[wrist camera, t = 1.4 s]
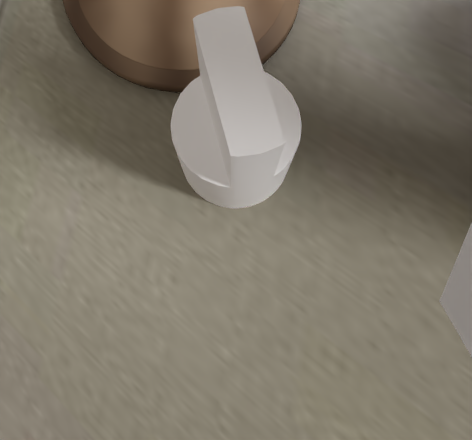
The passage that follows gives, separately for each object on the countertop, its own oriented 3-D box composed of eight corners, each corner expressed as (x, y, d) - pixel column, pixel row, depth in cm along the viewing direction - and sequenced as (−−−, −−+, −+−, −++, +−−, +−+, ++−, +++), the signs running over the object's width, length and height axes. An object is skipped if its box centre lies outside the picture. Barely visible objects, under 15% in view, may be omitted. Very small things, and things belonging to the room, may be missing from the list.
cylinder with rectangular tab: (169, 118, 35) (139, 25, 24) (272, 94, 36) (293, -9, 24) (195, 220, 34) (176, 174, 22) (302, 193, 34) (341, 133, 22)
